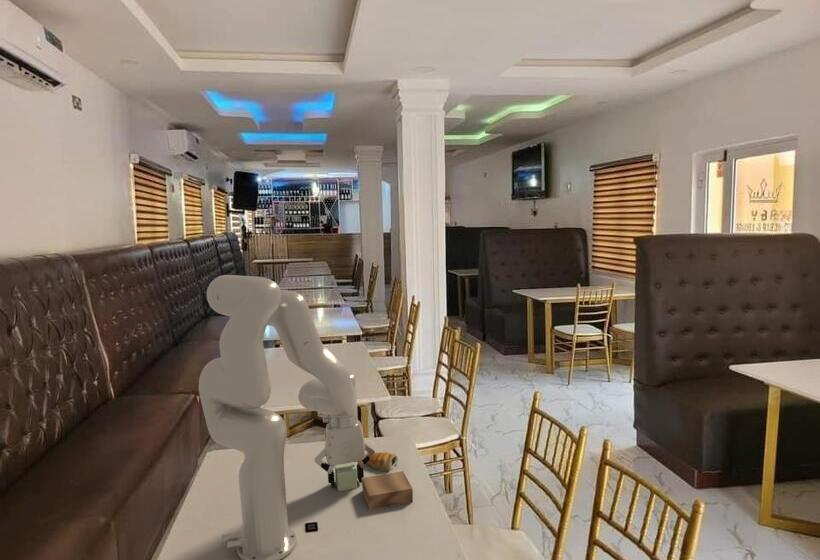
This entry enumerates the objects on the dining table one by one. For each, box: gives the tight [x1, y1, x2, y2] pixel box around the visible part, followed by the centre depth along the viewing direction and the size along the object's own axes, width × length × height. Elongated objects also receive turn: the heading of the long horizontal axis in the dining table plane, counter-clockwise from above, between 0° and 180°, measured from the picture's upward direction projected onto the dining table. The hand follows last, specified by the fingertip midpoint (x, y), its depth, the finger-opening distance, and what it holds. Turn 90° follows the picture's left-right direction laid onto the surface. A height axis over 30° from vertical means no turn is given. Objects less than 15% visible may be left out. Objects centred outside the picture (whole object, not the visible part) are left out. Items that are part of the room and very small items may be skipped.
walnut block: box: [361, 471, 414, 511], centre depth 137 cm, size 11×9×4 cm
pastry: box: [365, 451, 399, 472], centre depth 154 cm, size 9×7×4 cm
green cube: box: [334, 462, 358, 492], centre depth 143 cm, size 5×5×5 cm
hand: (346, 481), depth 144 cm, fingers open, 6 cm apart
